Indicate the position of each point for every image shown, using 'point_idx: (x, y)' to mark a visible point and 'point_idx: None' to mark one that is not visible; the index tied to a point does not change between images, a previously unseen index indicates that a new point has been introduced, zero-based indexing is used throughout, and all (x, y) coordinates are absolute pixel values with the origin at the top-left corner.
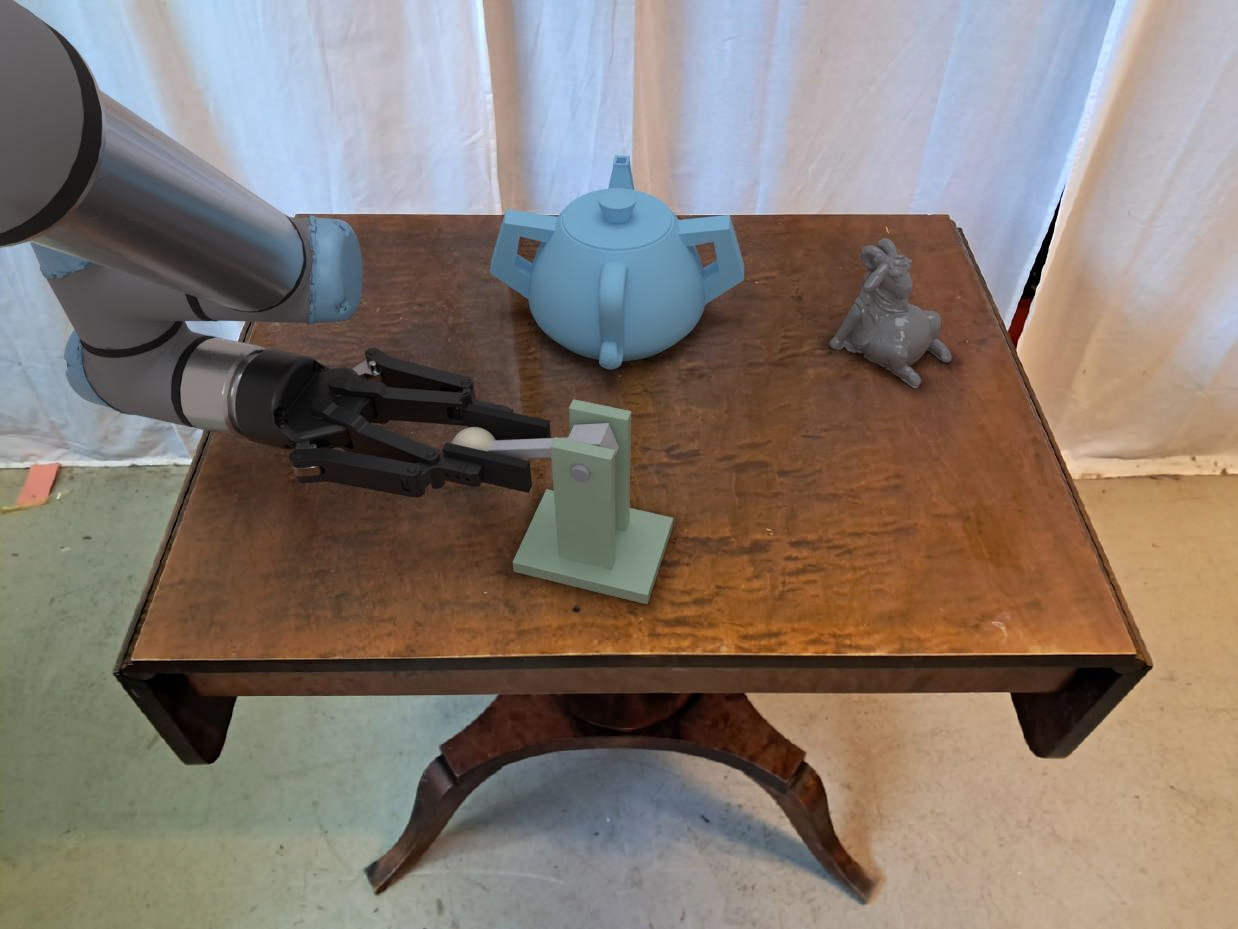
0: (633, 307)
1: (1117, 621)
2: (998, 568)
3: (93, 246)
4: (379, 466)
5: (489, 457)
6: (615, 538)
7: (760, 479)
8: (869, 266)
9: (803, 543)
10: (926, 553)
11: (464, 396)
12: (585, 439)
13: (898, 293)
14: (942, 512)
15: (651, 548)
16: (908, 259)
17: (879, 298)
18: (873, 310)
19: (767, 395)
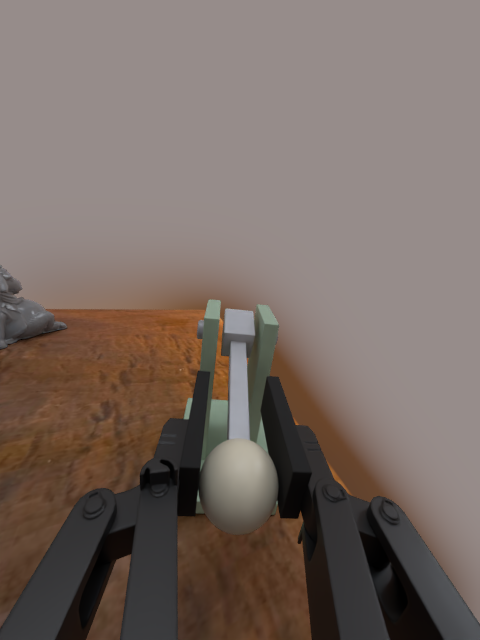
0: None
1: (204, 310)
2: (189, 322)
3: None
4: (461, 612)
5: (284, 408)
6: (218, 426)
7: (137, 373)
8: None
9: (187, 359)
10: (185, 333)
11: (176, 464)
12: (247, 320)
13: (17, 288)
14: (160, 328)
15: (220, 405)
16: None
17: (7, 298)
18: (11, 307)
19: (44, 373)
